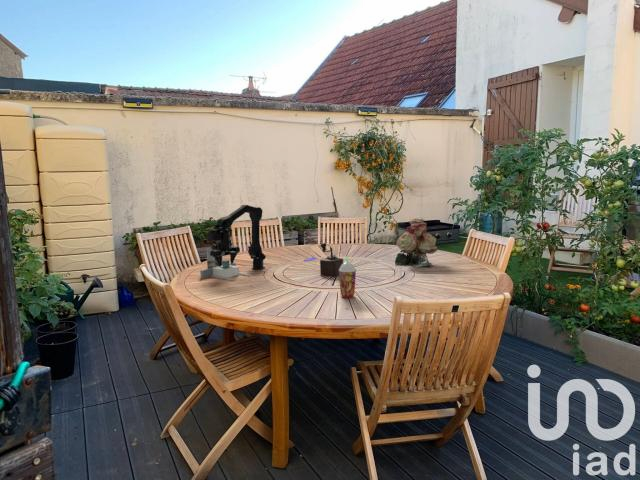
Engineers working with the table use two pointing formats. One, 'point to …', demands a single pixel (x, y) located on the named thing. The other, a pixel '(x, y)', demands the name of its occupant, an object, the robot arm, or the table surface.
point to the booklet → (311, 259)
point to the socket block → (226, 271)
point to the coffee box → (211, 259)
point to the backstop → (209, 273)
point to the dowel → (226, 264)
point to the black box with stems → (330, 264)
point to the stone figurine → (415, 245)
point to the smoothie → (347, 279)
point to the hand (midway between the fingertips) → (226, 265)
